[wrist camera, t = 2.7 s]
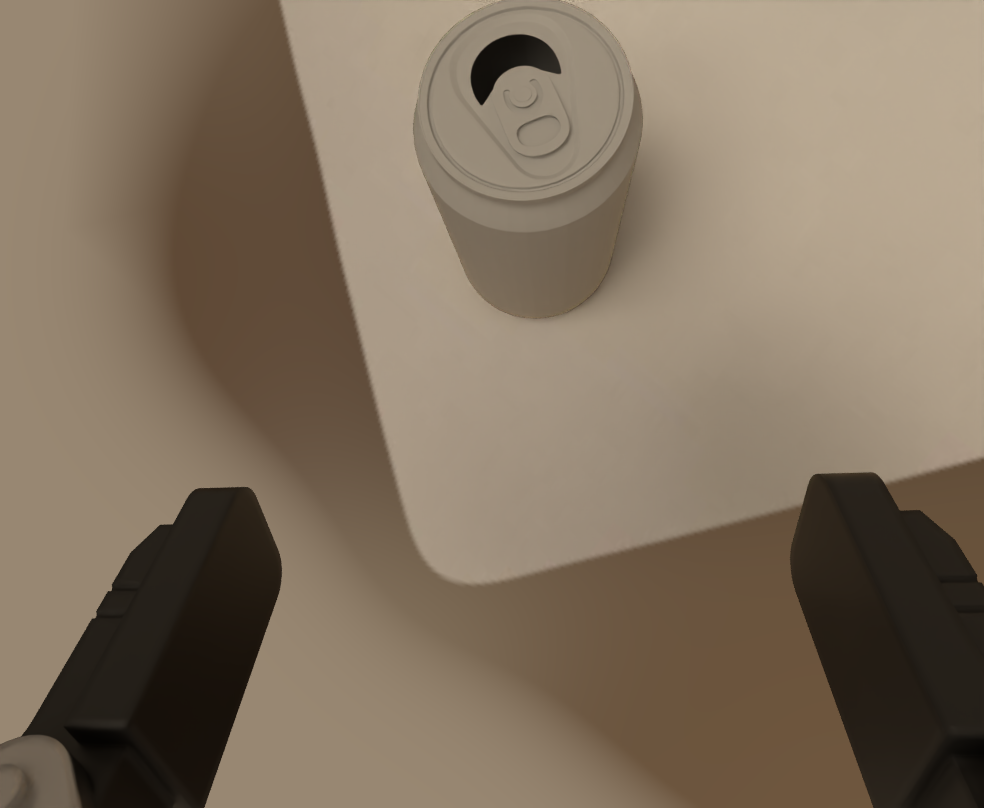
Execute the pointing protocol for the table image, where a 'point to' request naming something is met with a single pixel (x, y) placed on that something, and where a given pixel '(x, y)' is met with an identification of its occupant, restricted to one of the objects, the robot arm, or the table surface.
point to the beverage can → (529, 150)
